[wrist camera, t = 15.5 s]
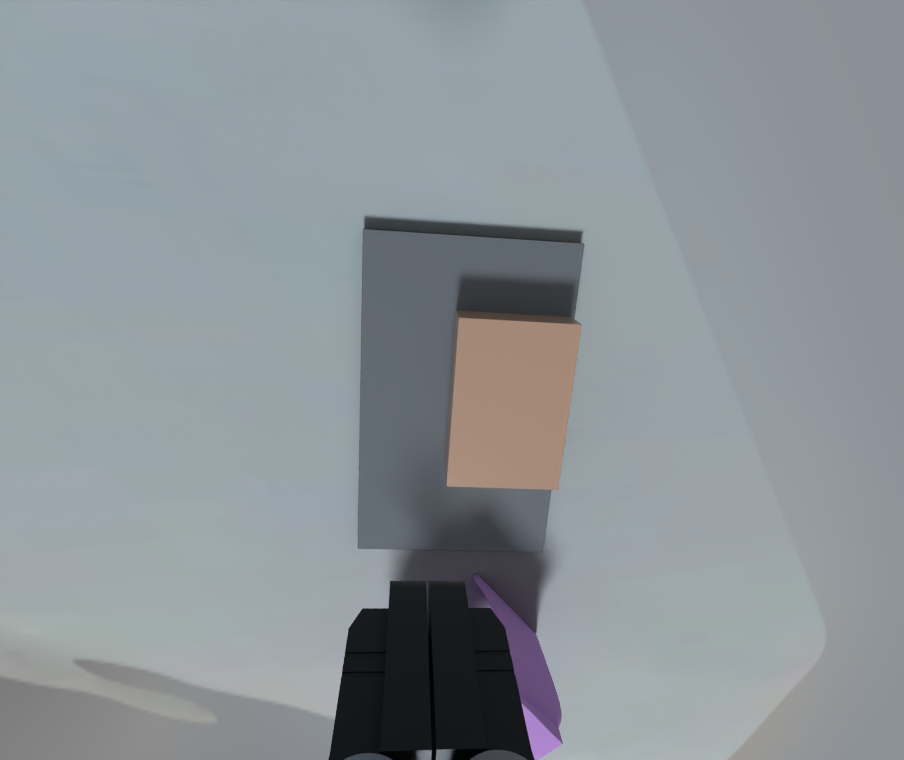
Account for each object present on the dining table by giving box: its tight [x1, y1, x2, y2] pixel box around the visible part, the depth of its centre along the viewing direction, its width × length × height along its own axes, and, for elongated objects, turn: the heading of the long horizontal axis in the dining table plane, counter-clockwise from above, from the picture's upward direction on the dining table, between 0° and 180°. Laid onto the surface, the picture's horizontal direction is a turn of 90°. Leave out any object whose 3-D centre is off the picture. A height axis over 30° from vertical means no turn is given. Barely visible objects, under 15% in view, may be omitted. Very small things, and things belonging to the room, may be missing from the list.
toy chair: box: [473, 574, 563, 760], centre depth 28 cm, size 8×9×15 cm
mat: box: [358, 229, 584, 552], centre depth 30 cm, size 18×11×1 cm, turn 176°
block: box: [445, 310, 582, 490], centre depth 28 cm, size 9×2×6 cm
